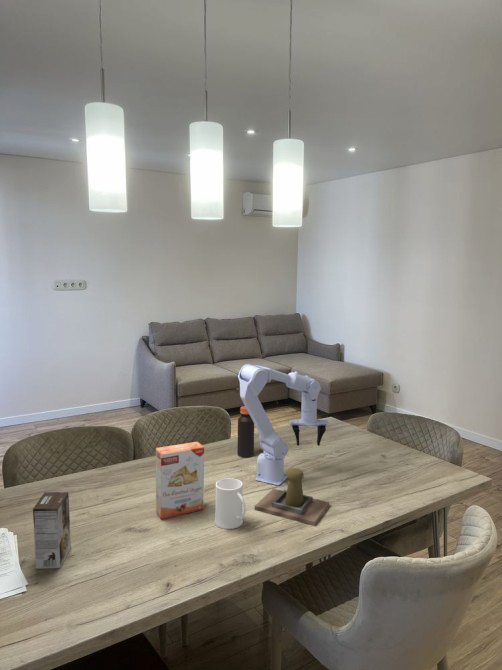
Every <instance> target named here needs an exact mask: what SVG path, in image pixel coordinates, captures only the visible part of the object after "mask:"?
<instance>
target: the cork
mask: <svg viewBox="0 0 502 670" xmlns="http://www.w3.org/2000/svg"><path fill="white" fill-rule="evenodd" d="M286 476H287V479H288V481H287V488H286V491H287V493H286V500H285V504H286V505H288V506H292V507H301V506H303V504H304V499H303V495H304V492H303V480H304V472H303V471H302V469H300V468H297V467H296V468H290V469H288V471H287V474H286Z"/></svg>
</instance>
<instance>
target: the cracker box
mask: <svg viewBox="0 0 502 670" xmlns="http://www.w3.org/2000/svg"><path fill="white" fill-rule="evenodd" d="M204 482H205V447H204V446H203V444H201V443H200V442H199V441H193V442H187V443H180V444H174V445H173V444H172V445H167V446H160V447H156V448H155V511H156V514H158V517H159V518H160V519H161V520H163V519H169V518H172V517H177V516H180V515H184V514H190V513H194V512H198V511H203V510H204V494H205V493H204V489H205V488H204V485H205V483H204Z"/></svg>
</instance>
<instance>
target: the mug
mask: <svg viewBox="0 0 502 670" xmlns="http://www.w3.org/2000/svg"><path fill="white" fill-rule="evenodd" d="M243 489H244V488H243V482H242V481H241V480H240V479H237V478H233V477H226V478H221V479H219V480H217V481H216V482H215V500H214V501H215V503H214V504H215V505H214V506H215V508H214V509H215V511H214V512H215V515H214V525H215V526H217V528H220V529H224V530H233V529H237V528H239V527H241V526H242V525H243V524H244V519H243V518H244V517H245V515H246V511H247V508H246V506H247V505H246V502H245V499H244V498H243Z"/></svg>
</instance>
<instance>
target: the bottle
mask: <svg viewBox="0 0 502 670" xmlns="http://www.w3.org/2000/svg"><path fill="white" fill-rule="evenodd" d="M239 412H240V413H239V414H240V416H239V417H238V418H237V456H239V457H240V456H241V457H240V458H251V457H253V456H254V455H255V424H254V422H253V420H252V418H251V416H250V414H249V413H248V411H247V409H246V407H245V405H242V406H241V407H240V408H239Z"/></svg>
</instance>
